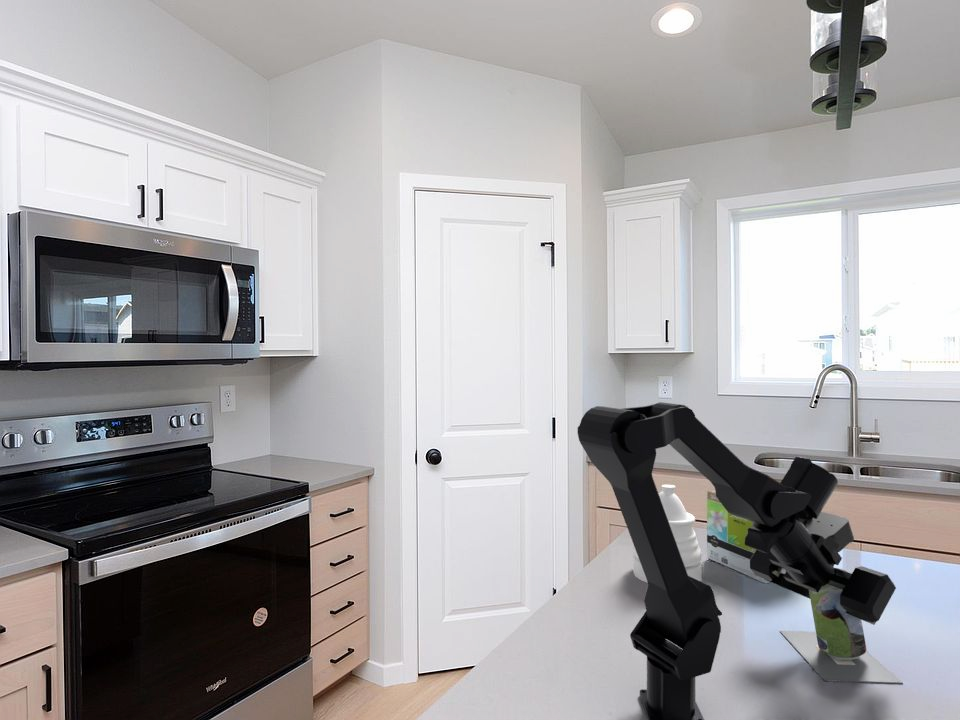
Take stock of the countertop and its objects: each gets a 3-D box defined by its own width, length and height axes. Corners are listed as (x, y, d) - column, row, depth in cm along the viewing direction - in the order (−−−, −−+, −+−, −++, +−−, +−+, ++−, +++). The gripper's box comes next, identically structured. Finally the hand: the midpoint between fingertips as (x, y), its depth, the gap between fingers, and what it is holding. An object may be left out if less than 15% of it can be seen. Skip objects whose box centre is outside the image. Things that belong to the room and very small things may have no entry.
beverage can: (874, 667, 83) (874, 581, 83) (815, 662, 84) (816, 577, 84) (855, 645, 89) (855, 565, 89) (801, 641, 90) (801, 562, 90)
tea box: (704, 559, 126) (705, 489, 126) (739, 552, 130) (739, 485, 130) (765, 585, 112) (766, 506, 112) (802, 576, 117) (802, 501, 116)
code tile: (902, 683, 79) (902, 681, 79) (824, 680, 80) (824, 679, 80) (846, 633, 93) (846, 632, 93) (779, 631, 94) (779, 630, 94)
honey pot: (708, 589, 110) (708, 492, 110) (636, 585, 112) (636, 490, 112) (695, 565, 123) (695, 477, 123) (630, 561, 125) (630, 475, 125)
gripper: (887, 514, 76) (937, 586, 81) (762, 484, 93) (810, 545, 98) (846, 586, 73) (901, 656, 78) (725, 541, 90) (776, 601, 95)
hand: (842, 608), depth 87 cm, fingers open, 9 cm apart
